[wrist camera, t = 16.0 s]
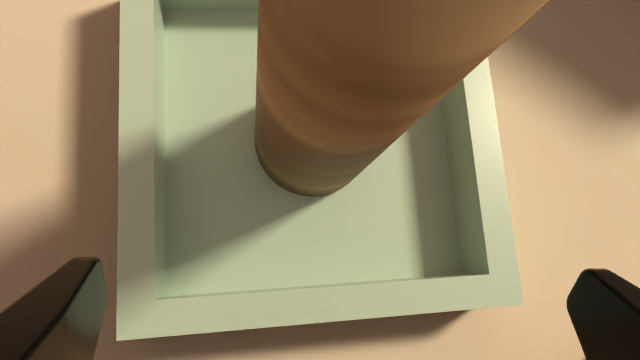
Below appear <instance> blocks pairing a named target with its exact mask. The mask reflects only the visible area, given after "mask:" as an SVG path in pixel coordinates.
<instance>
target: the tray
mask: <svg viewBox="0 0 640 360" xmlns="http://www.w3.org/2000/svg"><path fill="white" fill-rule="evenodd" d="M257 36H258V0H120V45H119V133H118V222H117V310H116V341H121V340H132V339H144V338H155V337H166V336H178V335H189V334H200V333H211V332H223V331H234V330H245V329H256V328H268V327H279V326H290V325H302V324H313V323H324V322H335V321H347V320H358V319H369V318H380V317H392V316H403V315H414V314H426V313H437V312H448V311H459V310H471V309H482V308H493V307H504V306H516V305H524V302H523V295H522V288H521V282H520V275H519V268H518V261H517V254H516V247H515V240H514V233H513V226H512V220H511V213H510V206H509V199H508V192H507V185H506V178H505V171H504V164H503V158H502V151H501V144H500V137H499V130H498V123H497V116H496V109H495V102H494V96H493V89H492V82H491V75H490V68H489V61H488V57H487V58H486V59H485V60H483V61H482V62H481V63H480V64H479V65H478V66H477V67H476V68H475V69H474V70H472V71H471V72H470V73H469V74H468V75H467V76H466V77H465V78H464V79H463V80H462V81H460V82H459V83H458V84H457V85H456V86H455V87H454V88H453V89H452V90H451V91H449V92H448V93H447V94H446V95H445V96H444V97H443V98H442V99H441V100H440V101H439V102H437V103H436V104H435V105H434V106H433V107H432V108H431V109H430V110H429V111H428V112H426V113H425V114H424V115H423V116H422V117H421V118H420V119H419V120H418V121H417V122H415V123H414V124H413V125H412V126H411V127H410V128H409V129H408V130H407V131H406V132H405V133H403V134H402V135H401V136H400V137H399V138H398V139H397V140H396V141H395V142H394V143H392V144H391V145H390V146H389V147H388V148H387V149H386V150H385V151H384V152H383V153H382V154H380V155H379V156H378V157H377V158H376V159H375V160H374V161H373V162H372V163H371V164H369V165H368V166H367V167H366V168H365V169H364V170H363V171H362V172H361V173H360V174H359V175H357V176H356V177H355V178H354V179H353V180H352V181H351V182H350V183H349V184H348V185H346V186H345V187H343V188H342V189H340V190H338V191H336V192H334V193H331V194H328V195H323V196H314V197H313V196H303V195H298V194H295V193H292V192H290V191H287V190H285V189H283V188H282V187H280V186H279V185H277V184H276V183H275V182H274V181H273V180H272V179H271V178H270V177H269V176H268V175H267V174H266V172H265V171H264V169H263V168H262V166H261V164H260V162H259V159H258V157H257V153H256V149H255V110H256V73H257Z"/></svg>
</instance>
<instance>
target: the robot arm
mask: <svg viewBox="0 0 640 360" xmlns="http://www.w3.org/2000/svg"><path fill="white" fill-rule="evenodd" d="M106 303H107V290H106V284H105V279H104V273H103V268H102V263H101V261H100V260H99V259H98V258H90V257H76V258H72V259H70V260H69V261H68V262H66V263H65V264H64V265H62V266H61V267H60V268H58V269H57V270H56V271H54V272H53V273H52V274H51V275H49V276H48V277H47V278H45V279H44V280H43V281H41V282H40V283H39V284H37V285H36V286H35V287H33V288H32V289H31V290H29V291H28V292H27V293H26V294H24V295H23V296H22V297H20V298H19V299H18V300H16V301H15V302H14V303H12V304H11V305H10V306H8V307H7V308H6V309H4V310H3V311H2V312H1V313H0V360H93V357H94V353H95V349H96V345H97V341H98V337H99V333H100V328H101V324H102V320H103V316H104V312H105V308H106ZM567 310H568V313H569V315H570V318H571V321H572V323H573V326H574V328H575V331H576V334H577V336H578V339H579V341H580V344H581V347H582V349H583V352H584V354H585V357H586V360H640V288H638V287H637V286H635V285H633V284H632V283H630V282H628V281H627V280H625V279H623V278H621V277H620V276H618V275H616V274H615V273H613V272H611V271H609V270H607V269H585V270H584V271H582V272H581V274H580V276H579V277H578V279H577V281H576V283H575V285H574V286H573V288H572V290H571V292H570V294H569V295H568V298H567Z"/></svg>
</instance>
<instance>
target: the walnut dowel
mask: <svg viewBox="0 0 640 360" xmlns="http://www.w3.org/2000/svg"><path fill="white" fill-rule="evenodd" d="M548 1H549V0H258V36H257V73H256V110H255V149H256V153H257V157H258V159H259V162H260V164H261V166H262V168H263V169H264V171H265V172H266V174H267V175H268V176H269V177H270V178H271V179H272V180H273V181H274V182H275V183H276V184H277V185H279V186H280V187H282V188H283V189H285V190H287V191H290V192H292V193H295V194H298V195H303V196H313V197H314V196H323V195H328V194H331V193H334V192H336V191H338V190H340V189H342V188H343V187H345V186H346V185H348V184H349V183H350V182H351V181H352V180H353V179H354V178H355V177H356V176H357V175H359V174H360V173H361V172H362V171H363V170H364V169H365V168H366V167H367V166H368V165H369V164H371V163H372V162H373V161H374V160H375V159H376V158H377V157H378V156H379V155H380V154H382V153H383V152H384V151H385V150H386V149H387V148H388V147H389V146H390V145H391V144H392V143H394V142H395V141H396V140H397V139H398V138H399V137H400V136H401V135H402V134H403V133H405V132H406V131H407V130H408V129H409V128H410V127H411V126H412V125H413V124H414V123H415V122H417V121H418V120H419V119H420V118H421V117H422V116H423V115H424V114H425V113H426V112H428V111H429V110H430V109H431V108H432V107H433V106H434V105H435V104H436V103H437V102H439V101H440V100H441V99H442V98H443V97H444V96H445V95H446V94H447V93H448V92H449V91H451V90H452V89H453V88H454V87H455V86H456V85H457V84H458V83H459V82H460V81H462V80H463V79H464V78H465V77H466V76H467V75H468V74H469V73H470V72H471V71H472V70H474V69H475V68H476V67H477V66H478V65H479V64H480V63H481V62H482V61H483V60H485V59H486V58H487V57H488V56H489V55H490V54H491V53H492V52H493V51H494V50H496V49H497V48H498V47H499V46H500V45H501V44H502V43H503V42H504V41H505V40H506V39H508V38H509V37H510V36H511V35H512V34H513V33H514V32H515V31H516V30H517V29H519V28H520V27H521V26H522V25H523V24H524V23H525V22H526V21H527V20H528V19H529V18H531V17H532V16H533V15H534V14H535V13H536V12H537V11H538V10H539V9H540V8H542V7H543V6H544V5H545V4H546V3H547V2H548Z"/></svg>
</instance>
